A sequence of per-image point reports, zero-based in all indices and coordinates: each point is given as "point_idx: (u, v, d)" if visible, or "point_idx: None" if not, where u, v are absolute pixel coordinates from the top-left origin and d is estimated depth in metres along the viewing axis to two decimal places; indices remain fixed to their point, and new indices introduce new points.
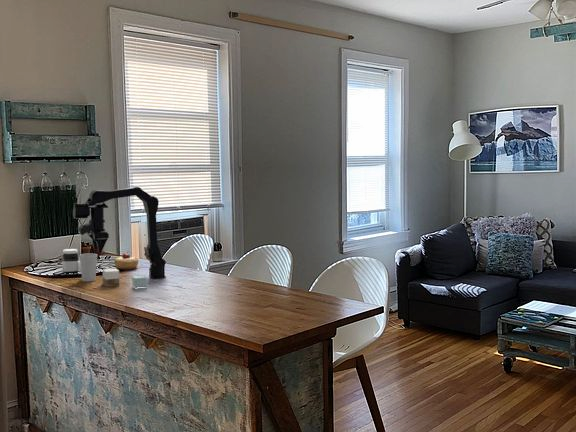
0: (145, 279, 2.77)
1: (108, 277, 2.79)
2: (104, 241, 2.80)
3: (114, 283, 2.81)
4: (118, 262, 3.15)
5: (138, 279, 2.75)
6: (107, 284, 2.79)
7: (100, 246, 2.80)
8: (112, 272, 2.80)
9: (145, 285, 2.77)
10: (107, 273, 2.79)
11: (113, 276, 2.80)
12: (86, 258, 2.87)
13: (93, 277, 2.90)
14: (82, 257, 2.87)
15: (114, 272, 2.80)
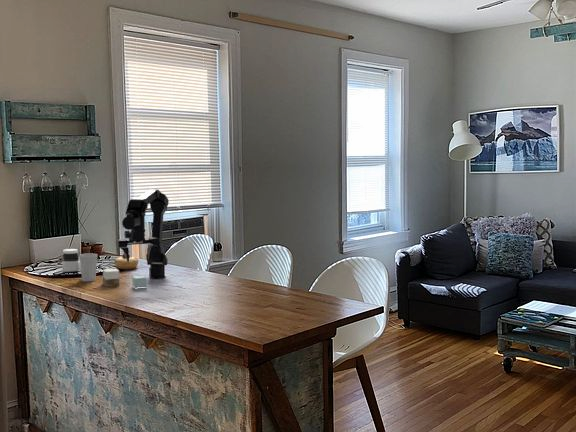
0: (145, 279, 2.77)
1: (108, 277, 2.79)
2: (124, 250, 2.72)
3: (114, 283, 2.81)
4: (118, 262, 3.15)
5: (138, 279, 2.75)
6: (107, 284, 2.79)
7: (125, 255, 2.74)
8: (112, 272, 2.80)
9: (145, 285, 2.77)
10: (107, 273, 2.79)
11: (113, 276, 2.80)
12: (86, 258, 2.87)
13: (93, 277, 2.90)
14: (82, 257, 2.87)
15: (114, 272, 2.80)
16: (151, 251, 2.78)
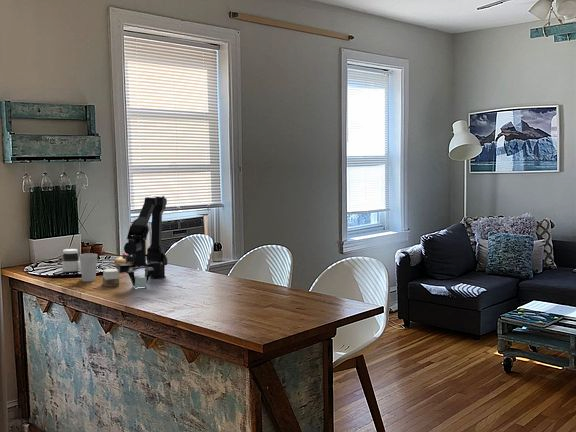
0: (145, 279, 2.77)
1: (108, 277, 2.79)
2: None
3: (114, 283, 2.81)
4: (118, 262, 3.15)
5: (138, 279, 2.75)
6: (107, 284, 2.79)
7: (131, 279, 2.76)
8: (112, 272, 2.80)
9: (145, 285, 2.77)
10: (107, 273, 2.79)
11: (113, 276, 2.80)
12: (86, 258, 2.87)
13: (93, 277, 2.90)
14: (82, 257, 2.87)
15: (114, 272, 2.80)
16: (148, 276, 2.78)
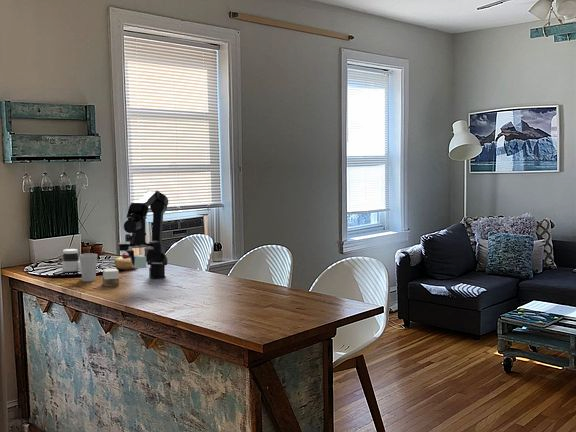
0: (145, 258, 2.76)
1: (107, 277, 2.79)
2: (130, 253, 2.73)
3: (114, 283, 2.81)
4: (118, 262, 3.15)
5: (138, 258, 2.74)
6: (107, 284, 2.79)
7: (130, 258, 2.75)
8: (111, 272, 2.80)
9: (145, 264, 2.76)
10: (106, 273, 2.79)
11: (112, 276, 2.80)
12: (86, 258, 2.87)
13: (93, 277, 2.90)
14: (82, 257, 2.87)
15: (113, 272, 2.80)
16: (148, 255, 2.77)
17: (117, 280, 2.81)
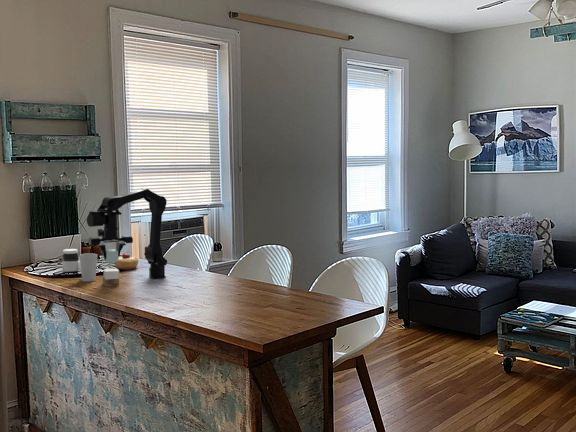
0: (116, 252, 2.80)
1: (108, 277, 2.79)
2: (101, 248, 2.77)
3: (114, 283, 2.81)
4: (118, 262, 3.15)
5: (109, 252, 2.79)
6: (107, 284, 2.79)
7: (102, 252, 2.79)
8: (112, 272, 2.80)
9: (116, 258, 2.80)
10: (107, 273, 2.79)
11: (113, 276, 2.80)
12: (86, 258, 2.87)
13: (93, 277, 2.90)
14: (82, 257, 2.87)
15: (114, 272, 2.80)
16: (119, 249, 2.81)
17: (117, 280, 2.81)
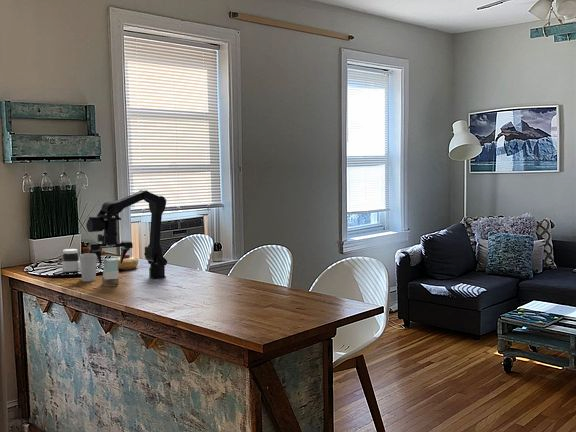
0: (116, 261, 2.81)
1: (107, 277, 2.79)
2: (97, 254, 2.77)
3: (113, 283, 2.81)
4: (118, 262, 3.15)
5: (109, 261, 2.79)
6: (106, 284, 2.79)
7: (98, 258, 2.79)
8: (111, 272, 2.80)
9: (116, 267, 2.81)
10: (106, 273, 2.79)
11: (112, 276, 2.80)
12: (86, 258, 2.87)
13: (93, 277, 2.90)
14: (82, 257, 2.87)
15: (113, 272, 2.80)
16: (123, 254, 2.82)
17: (117, 280, 2.81)
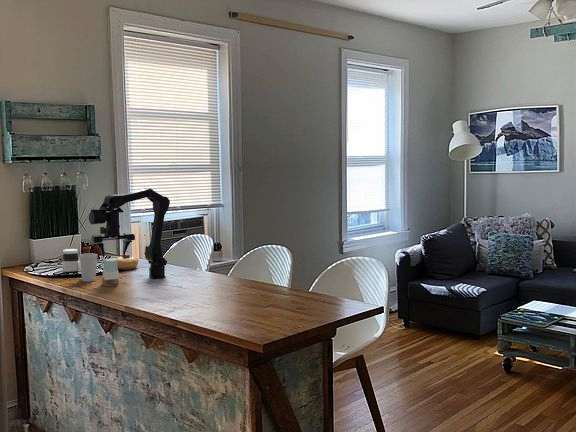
0: (116, 262, 2.81)
1: (107, 277, 2.79)
2: (100, 246, 2.79)
3: (113, 283, 2.81)
4: (118, 262, 3.15)
5: (109, 261, 2.79)
6: (106, 284, 2.79)
7: (100, 250, 2.81)
8: (111, 272, 2.80)
9: (116, 267, 2.81)
10: (106, 273, 2.79)
11: (112, 276, 2.80)
12: (86, 258, 2.87)
13: (93, 277, 2.90)
14: (82, 257, 2.87)
15: (113, 272, 2.80)
16: (126, 246, 2.85)
17: (117, 280, 2.81)
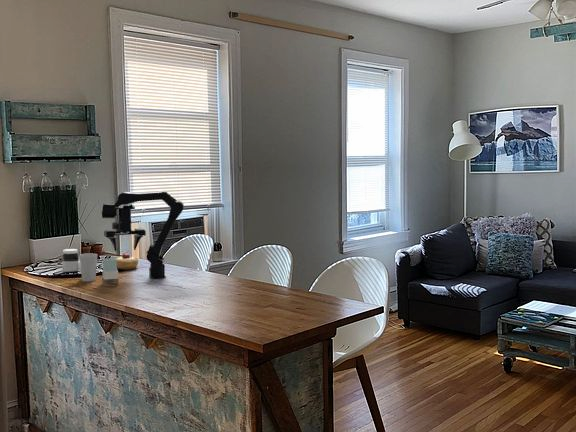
0: (115, 261, 2.80)
1: (107, 277, 2.79)
2: (112, 240, 2.93)
3: (113, 283, 2.81)
4: (118, 262, 3.15)
5: (108, 261, 2.79)
6: (106, 284, 2.79)
7: (113, 244, 2.95)
8: (111, 272, 2.80)
9: (115, 267, 2.81)
10: (106, 273, 2.79)
11: (112, 276, 2.80)
12: (86, 258, 2.87)
13: (93, 277, 2.90)
14: (82, 257, 2.87)
15: (113, 272, 2.80)
16: (137, 241, 2.98)
17: (116, 280, 2.81)
